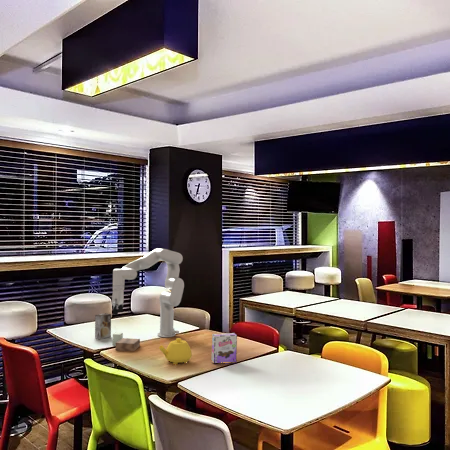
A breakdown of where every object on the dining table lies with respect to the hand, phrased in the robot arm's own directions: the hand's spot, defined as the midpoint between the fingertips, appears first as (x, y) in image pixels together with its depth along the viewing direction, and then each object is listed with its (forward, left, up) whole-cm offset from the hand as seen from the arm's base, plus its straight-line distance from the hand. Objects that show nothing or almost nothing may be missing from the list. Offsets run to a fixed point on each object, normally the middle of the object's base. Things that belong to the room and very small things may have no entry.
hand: (117, 313), depth 301 cm
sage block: (0, 0, -20) cm, 20 cm away
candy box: (-74, +27, -20) cm, 82 cm away
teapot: (-46, +33, -20) cm, 60 cm away
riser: (-10, +8, -21) cm, 24 cm away
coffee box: (+16, -15, -20) cm, 30 cm away
